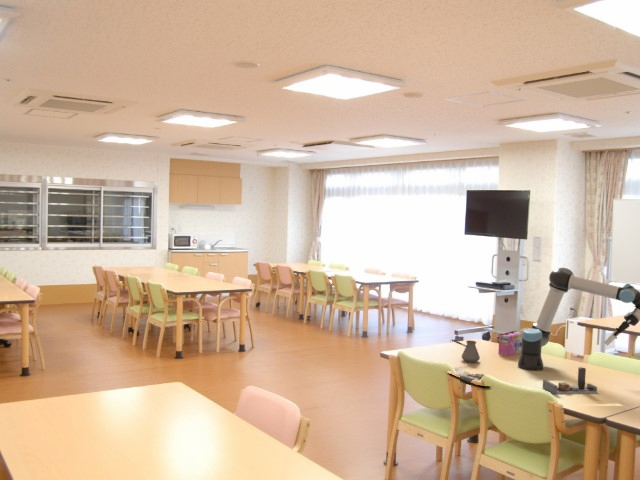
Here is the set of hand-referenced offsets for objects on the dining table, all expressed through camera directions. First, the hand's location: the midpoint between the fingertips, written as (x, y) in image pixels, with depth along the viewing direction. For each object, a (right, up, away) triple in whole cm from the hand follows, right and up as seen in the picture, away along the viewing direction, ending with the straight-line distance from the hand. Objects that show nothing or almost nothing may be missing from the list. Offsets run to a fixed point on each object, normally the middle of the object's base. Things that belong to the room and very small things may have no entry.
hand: (607, 341), depth 344 cm
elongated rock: (-83, -21, -6) cm, 85 cm away
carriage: (-28, -21, -26) cm, 44 cm away
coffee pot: (-75, -19, +36) cm, 85 cm away
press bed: (-33, -23, -27) cm, 48 cm away
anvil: (-45, -21, -29) cm, 57 cm away
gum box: (-35, -19, +66) cm, 77 cm away
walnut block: (-37, -22, -28) cm, 51 cm away
